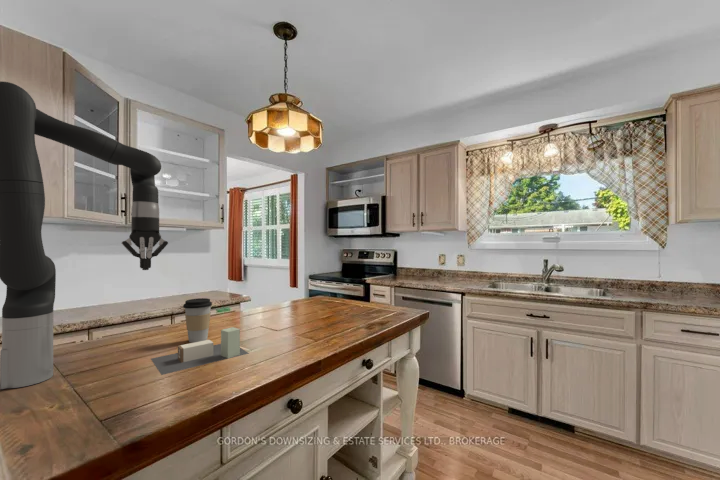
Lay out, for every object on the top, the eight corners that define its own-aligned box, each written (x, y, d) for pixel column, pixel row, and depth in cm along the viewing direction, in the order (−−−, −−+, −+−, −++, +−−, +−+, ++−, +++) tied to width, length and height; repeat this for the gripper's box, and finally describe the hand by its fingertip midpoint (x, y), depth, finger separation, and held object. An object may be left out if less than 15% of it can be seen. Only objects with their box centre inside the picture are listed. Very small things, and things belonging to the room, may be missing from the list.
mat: (161, 377, 84) (161, 374, 84) (150, 360, 96) (150, 358, 96) (249, 355, 100) (249, 353, 101) (230, 343, 112) (230, 341, 112)
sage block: (227, 358, 96) (227, 332, 96) (221, 355, 99) (221, 329, 99) (239, 354, 99) (239, 329, 99) (232, 352, 102) (232, 327, 102)
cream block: (181, 349, 93) (213, 342, 99) (177, 345, 96) (209, 339, 102) (181, 362, 93) (213, 355, 99) (177, 359, 96) (209, 352, 102)
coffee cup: (217, 338, 118) (217, 298, 119) (202, 346, 109) (202, 302, 109) (193, 337, 119) (193, 297, 120) (176, 345, 110) (176, 302, 110)
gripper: (121, 214, 96) (121, 272, 96) (171, 217, 105) (171, 269, 105) (118, 216, 101) (118, 270, 101) (166, 218, 110) (166, 268, 110)
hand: (145, 269), depth 103 cm, fingers closed
